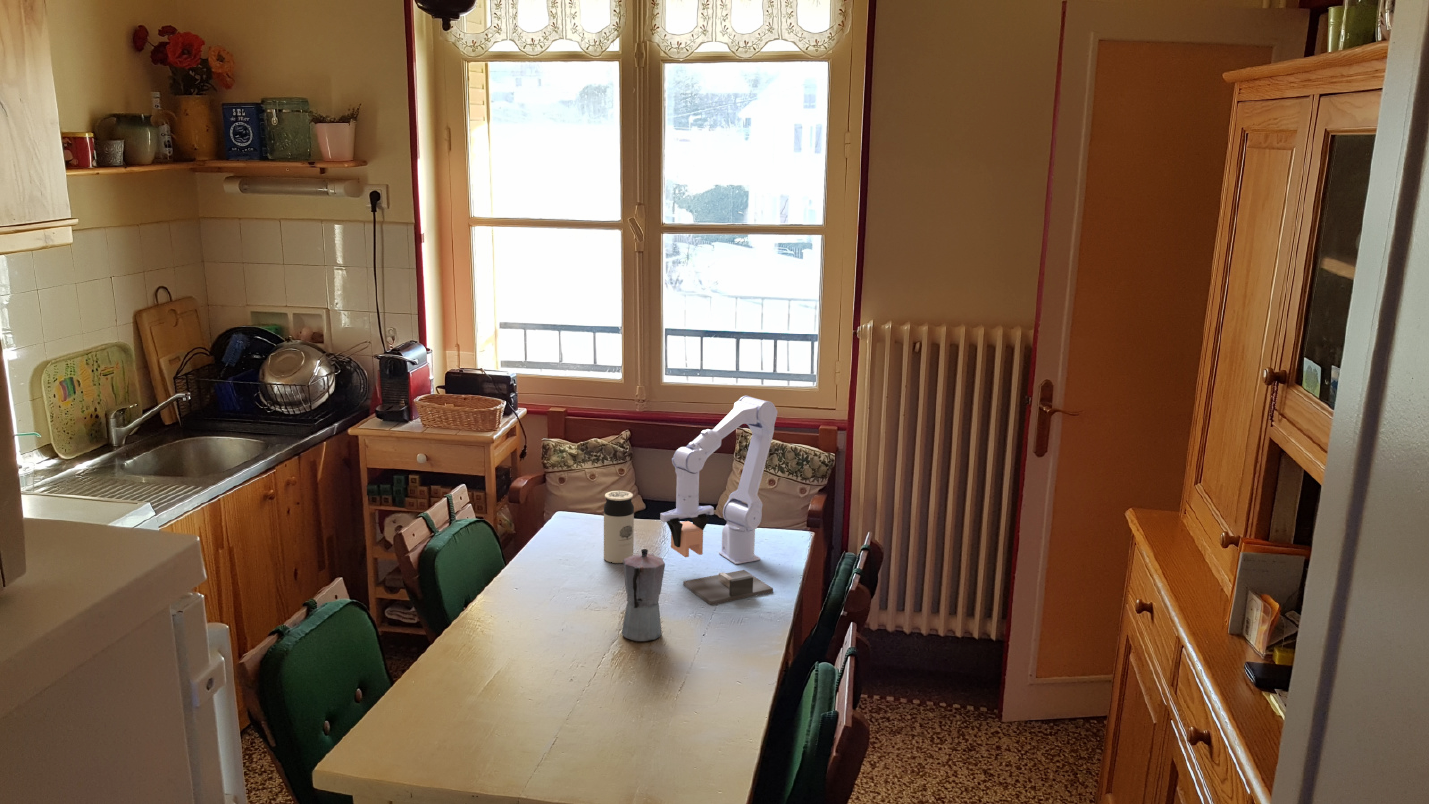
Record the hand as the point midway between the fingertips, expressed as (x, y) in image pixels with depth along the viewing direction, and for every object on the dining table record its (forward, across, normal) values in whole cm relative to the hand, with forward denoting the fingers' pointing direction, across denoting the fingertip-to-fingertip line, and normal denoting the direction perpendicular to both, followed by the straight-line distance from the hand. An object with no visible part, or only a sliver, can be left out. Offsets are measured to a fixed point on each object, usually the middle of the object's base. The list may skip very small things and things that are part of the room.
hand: (686, 544), depth 269 cm
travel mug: (+8, -11, +18) cm, 23 cm away
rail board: (+8, +5, -13) cm, 16 cm away
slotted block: (+2, 0, 0) cm, 2 cm away
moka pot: (+8, -26, -28) cm, 39 cm away
